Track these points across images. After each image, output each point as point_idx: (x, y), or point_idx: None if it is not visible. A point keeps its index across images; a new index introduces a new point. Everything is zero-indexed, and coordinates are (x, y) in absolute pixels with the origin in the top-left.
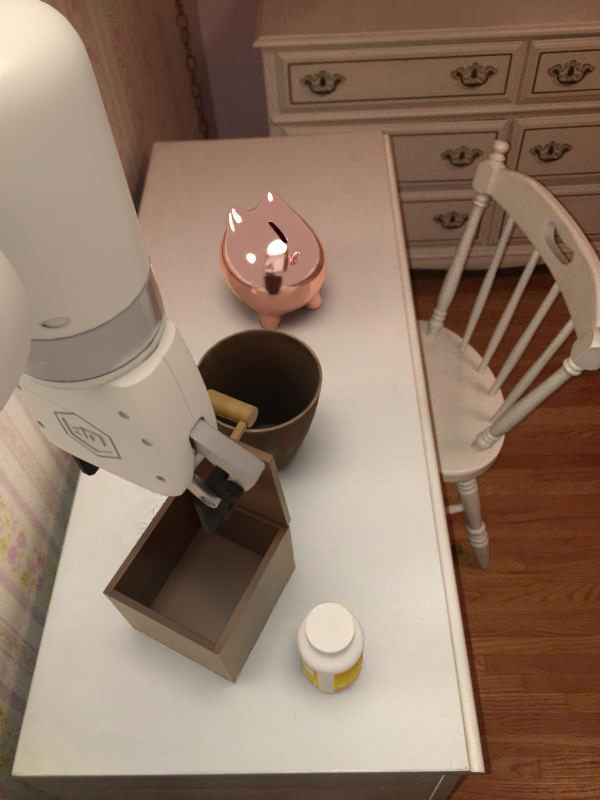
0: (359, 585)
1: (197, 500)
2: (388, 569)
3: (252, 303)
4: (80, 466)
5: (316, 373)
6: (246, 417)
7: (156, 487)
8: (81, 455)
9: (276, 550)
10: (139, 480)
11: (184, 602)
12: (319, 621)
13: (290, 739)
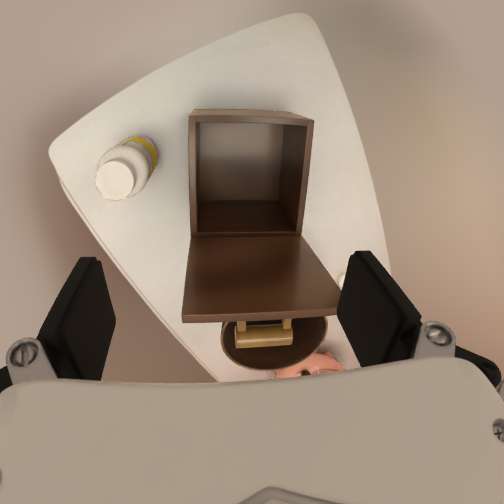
0: (146, 212)
1: (55, 341)
2: (135, 231)
3: (314, 359)
4: (377, 265)
5: (235, 352)
6: (239, 338)
7: (29, 419)
8: (367, 398)
9: (190, 215)
10: (92, 426)
11: (260, 143)
12: (123, 180)
13: (139, 98)
